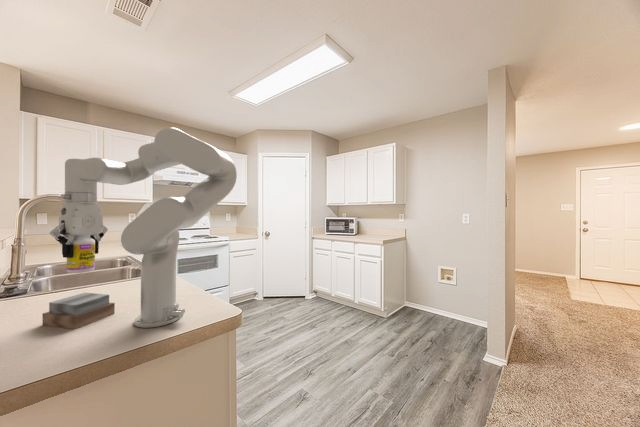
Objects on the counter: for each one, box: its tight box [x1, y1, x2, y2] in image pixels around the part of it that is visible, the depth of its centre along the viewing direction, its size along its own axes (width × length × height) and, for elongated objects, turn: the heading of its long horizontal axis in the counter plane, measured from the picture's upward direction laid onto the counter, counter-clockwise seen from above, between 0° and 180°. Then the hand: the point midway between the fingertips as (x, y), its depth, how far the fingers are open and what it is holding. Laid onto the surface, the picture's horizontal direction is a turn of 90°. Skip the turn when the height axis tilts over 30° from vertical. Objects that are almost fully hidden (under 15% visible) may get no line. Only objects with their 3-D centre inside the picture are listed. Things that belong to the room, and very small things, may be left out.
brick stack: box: [42, 292, 116, 330], centre depth 83 cm, size 12×12×6 cm
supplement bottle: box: [66, 234, 96, 274], centre depth 83 cm, size 7×7×13 cm
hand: (81, 254), depth 83 cm, fingers closed on supplement bottle, 6 cm apart
